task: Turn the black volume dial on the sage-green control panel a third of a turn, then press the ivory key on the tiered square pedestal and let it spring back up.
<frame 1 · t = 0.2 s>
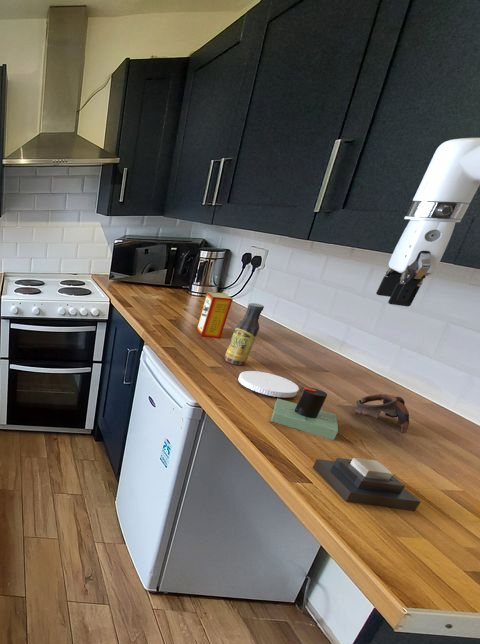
hand: (391, 300, 83), 31 cm above the worktop, tool pointing down, fingers open, 9 cm apart
tiered square pedestal: (360, 487, 76), on the worktop
plastic lid: (265, 389, 115), on the worktop
brown looped piece: (380, 422, 100), on the worktop
sauce bottle: (234, 363, 133), on the worktop
key: (370, 469, 75), point 4 cm above the worktop, slide at 0.1 cm
dial: (310, 402, 96), point 6 cm above the worktop, hinge at 0.0°
volume panel: (301, 422, 98), on the worktop
baking soda box: (207, 334, 160), on the worktop
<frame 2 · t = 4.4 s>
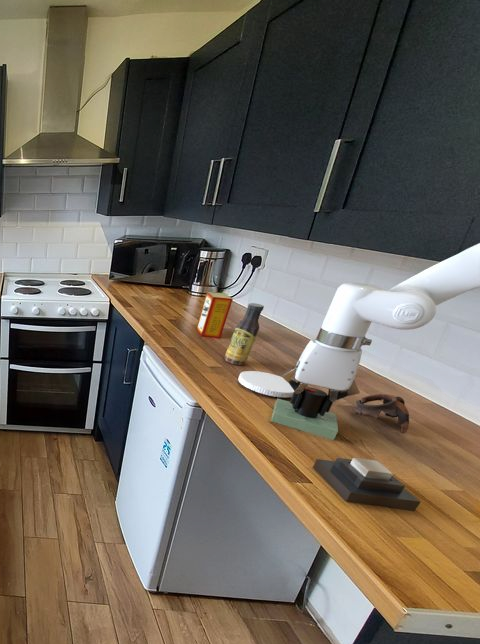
hand: (307, 409, 97), 4 cm above the worktop, tool pointing down, fingers closed on dial, 4 cm apart
dial: (310, 402, 96), point 6 cm above the worktop, hinge at 0.0°, touching gripper
everything else where it was.
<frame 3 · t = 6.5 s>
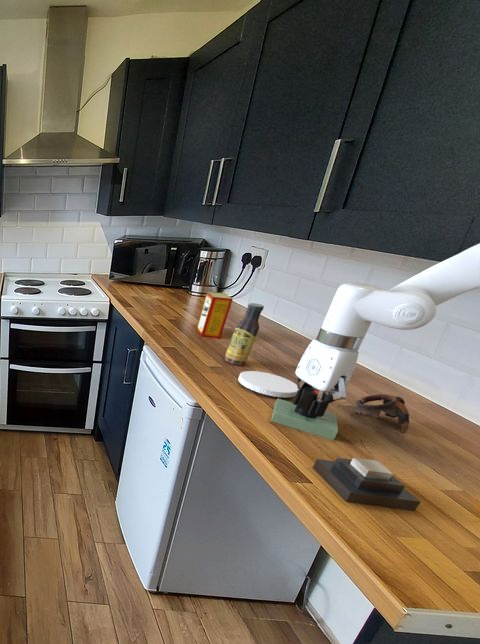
hand: (307, 409, 97), 4 cm above the worktop, tool pointing down, fingers closed on dial, 4 cm apart
dial: (310, 402, 96), point 6 cm above the worktop, hinge at 119.7°, touching gripper
everything else where it was.
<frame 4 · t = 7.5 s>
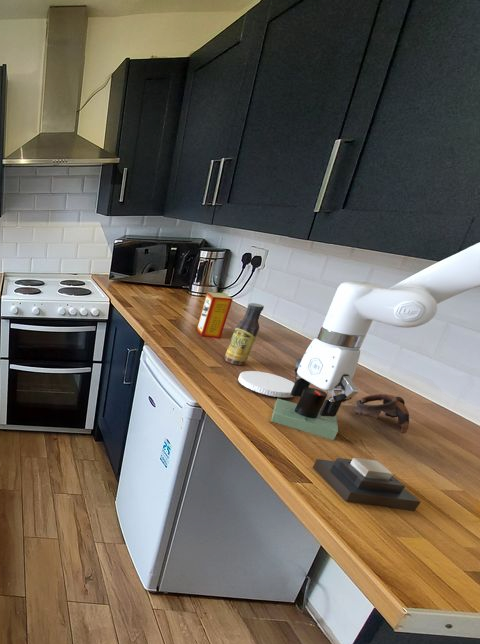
hand: (311, 405, 96), 5 cm above the worktop, tool pointing down, fingers open, 9 cm apart
dial: (310, 402, 96), point 6 cm above the worktop, hinge at 117.9°
everything else where it was.
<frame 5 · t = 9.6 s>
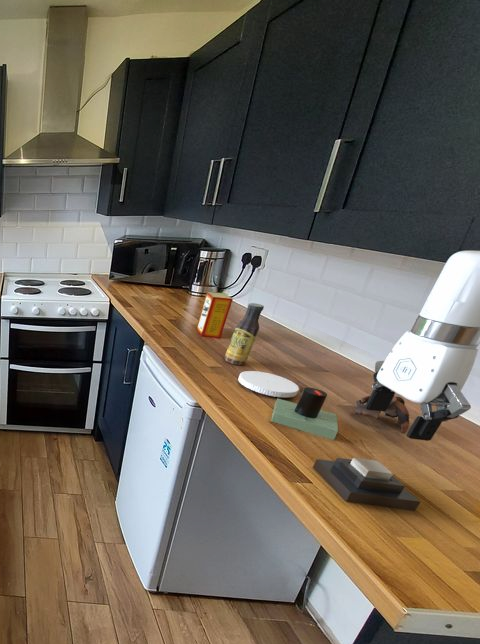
hand: (394, 423, 71), 14 cm above the worktop, tool pointing down, fingers open, 9 cm apart
nothing on the worktop moved.
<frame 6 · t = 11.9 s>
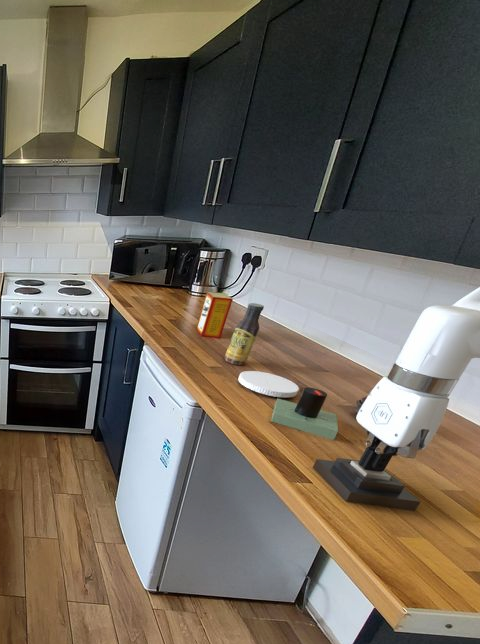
hand: (370, 468, 74), 5 cm above the worktop, tool pointing down, fingers closed
key: (368, 472, 75), point 4 cm above the worktop, slide at -0.6 cm, touching gripper
everything else where it was.
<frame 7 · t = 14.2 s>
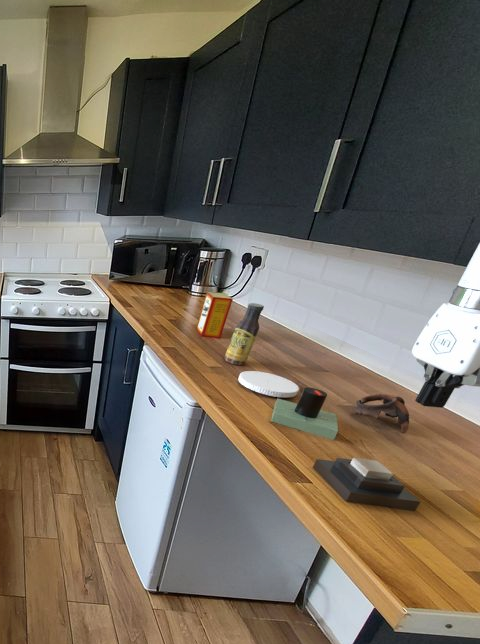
hand: (428, 404, 70), 18 cm above the worktop, tool pointing down, fingers closed
key: (370, 469, 75), point 4 cm above the worktop, slide at 0.1 cm
everything else where it was.
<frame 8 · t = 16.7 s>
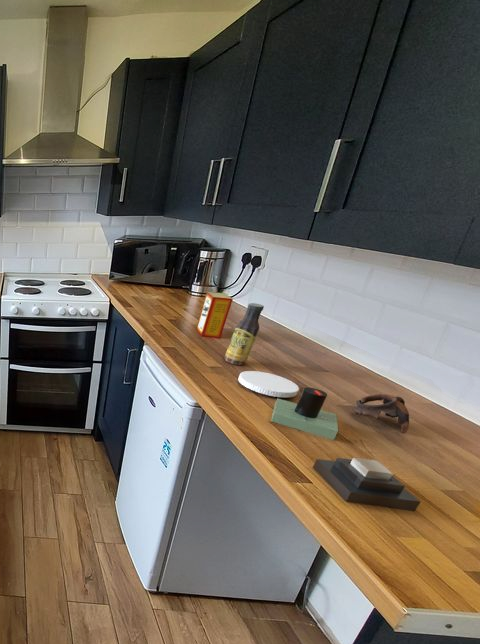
nothing on the worktop moved.
at the end: dial at +118° (first picture: +0°); key pushed in 1.1 cm at the most during the clip, back to where it started at the end; key slide at 0.1 cm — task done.
